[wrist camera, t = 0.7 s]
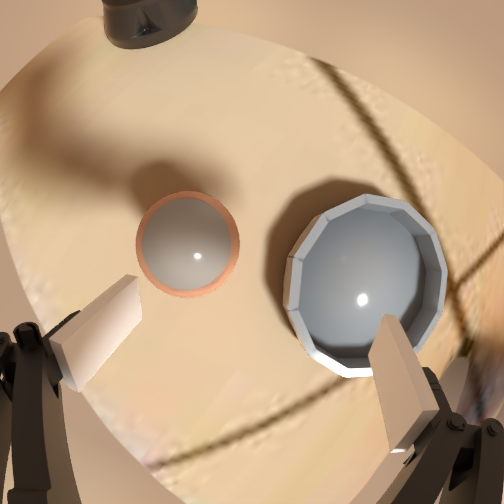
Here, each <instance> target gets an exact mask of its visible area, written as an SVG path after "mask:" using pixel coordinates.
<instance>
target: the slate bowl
mask: <svg viewBox="0 0 504 504" xmlns="http://www.w3.org/2000/svg"><path fill="white" fill-rule="evenodd" d="M288 256H289V257H287V262H286V267H285V273H284V279H283V307H284V309H285V311H286V314H287V316H288V318H289V321H290V324H291V325H292V327H293V329H294V331H295V333H296V335H297V337H298V340H299V342H300V344H301V346H302V347H303V349H304V350H305V351H306V353H307V354H308V356H310V357H311V358H313V359H315V360H316V361H318V362H320V363H321V364H323V365H325V366H326V367H328V368H330V369H331V370H333V371H335V372H337V373H338V374H340V375H342V376H343V377H357V376H371V375H373V372H372V369H371V365H370V361H369V357H368V354H369V351H370V349H371V346H372V344H373V341H374V338H375V336H376V333H377V330H378V327H379V325H380V322H381V319H382V316H383V314H389V315H396V316H397V318H398V320H399V322H400V324H401V326H402V328H403V330H404V332H405V334H406V336H407V338H408V340H409V342H410V344H411V346H412V348H413V350H414V352H415V354H416V353H418V352H419V351H420V350H421V349H422V347H423V346H424V344H425V342H426V341H427V339H428V337H429V336H430V334H431V332H432V331H433V329H434V327H435V326H436V324H437V322H438V320H439V319H440V317H441V315H442V312H443V306H444V299H445V291H446V282H447V272H448V271H446V270H447V266H446V263H445V259H444V256H443V253H442V249H441V246H440V243H439V240H438V237H437V234H436V231H435V230H434V228H433V227H432V226H431V225H430V224H429V223H428V222H427V221H426V220H425V219H424V218H423V217H422V216H421V215H420V214H419V213H418V212H417V211H416V210H415V209H414V208H413V207H411V206H410V205H409V204H408V203H407V202H405V201H403V200H398V199H393V198H388V197H382V196H377V195H371V194H363V195H360V196H358V197H356V198H354V199H351V200H349V201H347V202H345V203H343V204H341V205H338V206H336V207H334V208H332V209H330V210H328V211H325V212H323V213H321V214H319V215H317V216H315V217H313V219H312V220H311V222H310V223H309V225H308V226H307V227H306V228H305V229H304V231H303V232H302V233H301V235H300V236H299V237H298V239H297V241H296V242H295V244H294V246H293V248H292V250H291V251H290V253H289V254H288Z"/></svg>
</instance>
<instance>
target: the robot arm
mask: <svg viewBox="0 0 504 504" xmlns="http://www.w3.org/2000/svg"><path fill="white" fill-rule="evenodd" d="M102 2H103V4H104V29H105V32H106V34H107V36H108V38H109V40H110V41H111V42H112V43H113V44H114V45H115V46H118V47H120V48H125V49H137V48H144V47H149V46H153V45H156V44H159V43H161V42H164V41H166V40H168V39H170V38H172V37H174V36H176V35H178V34H179V33H181V32H182V31H183V30H185V29H186V28H187V27H188V26H189V25H190V24H191V23H192V22H193V20H194V19H195V17H196V15H197V10H198V7H197V0H102ZM141 319H142V313H141V304H140V293H139V281H138V277H137V276H132V275H125V276H124V277H123V278H121V279H120V280H119V281H118V282H116V283H115V284H114V285H113V286H111V287H110V288H109V289H108V290H106V291H105V292H104V293H103V294H101V295H100V296H99V297H98V298H96V299H95V300H94V301H93V302H91V303H90V304H89V305H88V306H87V307H85V308H84V309H83V310H82V311H80V310H78V311H76V312H74V313H72V314H70V315H69V316H67V317H66V318H65V319H64V321H61V322H60V323H59V325H57V326H55V327H54V328H53V329H52V330H51V331H49V332H48V333H47V334H46V335H45V336H44V337H42V336H41V333H40V330H39V327H38V325H37V324H36V323H33V322H25V323H22V324H20V325H18V326H17V327H16V328H15V329H14V331H13V333H14V336H15V338H16V341H17V343H13V342H12V341H11V339H10V336H9V335H8V333H6V332H0V376H1V373H2V375H3V379H2V380H1V379H0V504H2V499H3V489H4V480H5V473H6V467H7V461H8V455H9V450H10V445H11V446H12V464H13V476H14V488H13V489H11V490H9V491H8V493H7V500H8V504H81V500H80V497H79V493H78V489H77V486H76V482H75V478H74V474H73V469H72V464H71V460H70V454H69V449H68V443H67V437H66V431H65V423H64V414H63V405H62V392H61V385H60V383H59V381H60V380H61V379H62V378H64V380H65V383H66V385H67V387H69V388H71V389H73V390H75V391H77V392H80V391H81V390H82V389H83V388H84V386H85V385H86V384H87V383H88V381H89V380H90V379H91V378H92V377H93V375H94V374H95V373H96V372H97V371H98V369H99V368H100V367H101V366H102V365H103V364H104V362H105V361H106V360H107V359H108V358H109V356H110V355H111V354H112V353H113V352H114V351H115V349H116V348H117V347H118V346H119V345H120V344H121V342H122V341H123V340H124V339H125V338H126V337H127V335H128V334H129V333H130V332H131V331H132V330H133V329H134V327H135V326H136V325H137V324H138V323H139V322H140V321H141ZM368 357H369V361H370V365H371V369H372V372H373V376H374V380H375V384H376V388H377V392H378V396H379V400H380V405H381V409H382V413H383V418H384V422H385V427H386V432H387V437H388V442H389V447H390V453H394V452H404V451H407V450H408V449H409V448H410V447H411V445H412V444H414V448H415V451H414V452H413V453H412V454H411V456H410V457H409V458H408V459H407V460H406V461H405V462H404V463H403V464H405V465H404V467H403V468H402V470H401V471H400V473H399V474H398V476H397V477H396V479H395V480H394V481H393V483H392V484H391V485H390V487H389V488H388V489H387V491H386V492H385V494H384V495H383V496H382V497H381V498H380V500H379V501H378V502H377V503H376V504H434V502H435V500H436V499H437V497H438V495H439V493H440V491H441V490H442V488H443V490H442V494H441V498H440V502H439V504H501V502H502V493H503V483H504V428H503V426H502V424H501V423H500V422H499V421H498V420H496V419H493V418H488V419H486V420H485V421H484V422H483V423H482V424H481V426H476V425H469V424H467V422H466V420H465V419H464V418H463V417H462V416H461V415H460V414H457V413H454V412H452V411H451V408H450V406H449V404H448V401H447V399H446V397H445V394H444V392H443V391H442V388H441V386H440V384H439V381H438V379H437V377H436V375H435V374H434V373H433V372H432V371H431V370H430V369H429V367H421V365H420V363H419V361H418V358H417V356H416V354H415V352H414V350H413V348H412V346H411V344H410V342H409V340H408V338H407V336H406V334H405V332H404V330H403V328H402V326H401V324H400V322H399V320H398V318H397V316H396V315H389V314H383V316H382V319H381V322H380V325H379V327H378V330H377V333H376V336H375V338H374V341H373V344H372V346H371V349H370V351H369V354H368Z"/></svg>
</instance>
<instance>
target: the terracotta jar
mask: <svg viewBox="0 0 504 504" xmlns="http://www.w3.org/2000/svg"><path fill="white" fill-rule="evenodd" d="M239 247H240V240H239V233H238V229H237V226H236V223H235V221H234V219H233V217H232V215H231V214H230V212H229V211H228V210H227V209H226V207H225V206H224V205H223V204H221V203H220V202H219V201H218V200H216V199H215V198H213V197H211V196H209V195H207V194H204V193H200V192H195V191H181V192H176V193H172V194H169V195H167V196H165V197H163V198H161V199H160V200H158V201H157V202H156V203H154V204H153V205H152V206H151V207H150V208H149V210H148V211H147V212H146V213H145V215H144V217H143V218H142V220H141V222H140V225H139V228H138V231H137V236H136V254H137V258H138V262H139V265H140V267H141V269H142V271H143V273H144V274H145V276H146V277H147V279H148V280H149V281H150V282H151V283H152V284H153V285H154V286H156V287H157V288H158V289H160V290H161V291H163V292H165V293H167V294H170V295H173V296H176V297H182V298H191V297H198V296H202V295H205V294H208V293H210V292H212V291H213V290H215V289H216V288H218V287H219V286H221V285H222V284H223V283H224V282H225V281H226V279H227V278H228V277H229V276H230V274H231V273H232V271H233V269H234V267H235V265H236V262H237V259H238V255H239Z"/></svg>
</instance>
